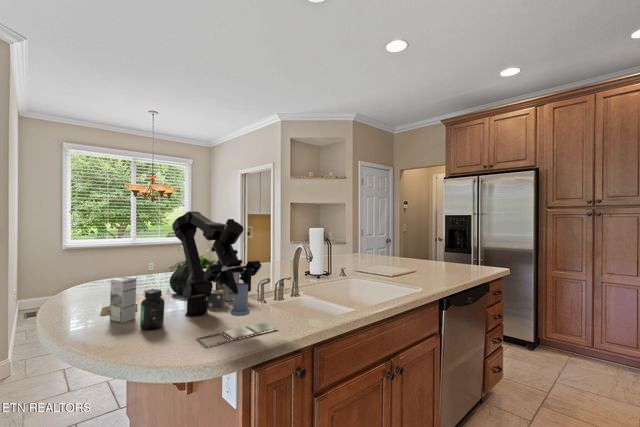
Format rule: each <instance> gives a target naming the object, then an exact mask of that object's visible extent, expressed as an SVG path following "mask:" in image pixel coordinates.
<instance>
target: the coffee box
mask: <svg viewBox="0 0 640 427" xmlns="http://www.w3.org/2000/svg"><path fill="white" fill-rule="evenodd" d="M217 263H218V262H216V263H215V264H217ZM233 276H234V279H235V283H236V284H237V283H240V279H239V278H240V276H241V275H240V273H234V274H233ZM215 290H225V301H226V300H227V301H226V302H231V301H233V299H234V292H233V291H232V290H231V289H230V288H229V287H228V286H227V285H225V284H222V285H219V284H218V282H215ZM230 300H231V301H230Z"/></svg>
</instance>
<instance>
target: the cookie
mask: <svg viewBox="0 0 640 427" xmlns="http://www.w3.org/2000/svg"><path fill="white" fill-rule="evenodd" d="M136 313H138V304H136ZM105 316H110V305H108V306H104V307H102V308H101V311H100V314H99V317H105Z"/></svg>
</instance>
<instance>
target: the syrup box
mask: <svg viewBox="0 0 640 427" xmlns="http://www.w3.org/2000/svg"><path fill="white" fill-rule="evenodd" d="M109 300H110V302H109V304H110V305H109V306H110V315H109V321H110V322H115V323H121V324H122V323H126V322H129V321H133V320H135V319H136V313H137V312H136V303H137V277H130V276H120V277H115V278H111V279H110V298H109Z"/></svg>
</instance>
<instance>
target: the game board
mask: <svg viewBox="0 0 640 427" xmlns="http://www.w3.org/2000/svg"><path fill="white" fill-rule="evenodd" d="M275 328H277V326H274V325H272V324H270V323H268V322H261V323H255V324H252V325H247V326H244V327H243V326H242V327H238V328H233V329H230V330H229V329H228V330H224V331H222V332H216V333H212V334H209V335H203V336H199V337H196V338H195V340H198V341H197V342H199V343H200V344H201V345H202V346H203V345H204V346H205V347H204V348H206V347H207V348H209V347H208V346H211V347H213V346H212V345H215V344H219V345H221V344H220V343H223V342H227V343H229V342H228V341H231V339H233V340H235V339H239V338H243V337H247V336H251V335H255V334H258V333H261V332H264V331H268V330H271V329H275ZM222 333H223V334H222ZM217 334H222V335H223V336H224V338H225V337H226V338H227V339H229V340H227V339H226V338H225V339H226V340H224V341H220V342H215V343H212V344H208V345H207V344H206V343H204V342H203V341H202V340H201V338H202V339H205V337H206V338H210V337H209V336H211V337H214V336H213V335H215V336H218V335H217ZM224 334H225V335H226V336H225V335H224ZM222 335H221V336H222ZM223 336H222V337H223ZM227 336H228V337H229V338H228V337H227ZM230 338H231V339H230ZM223 344H224V343H223ZM215 346H216V345H215Z"/></svg>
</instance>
